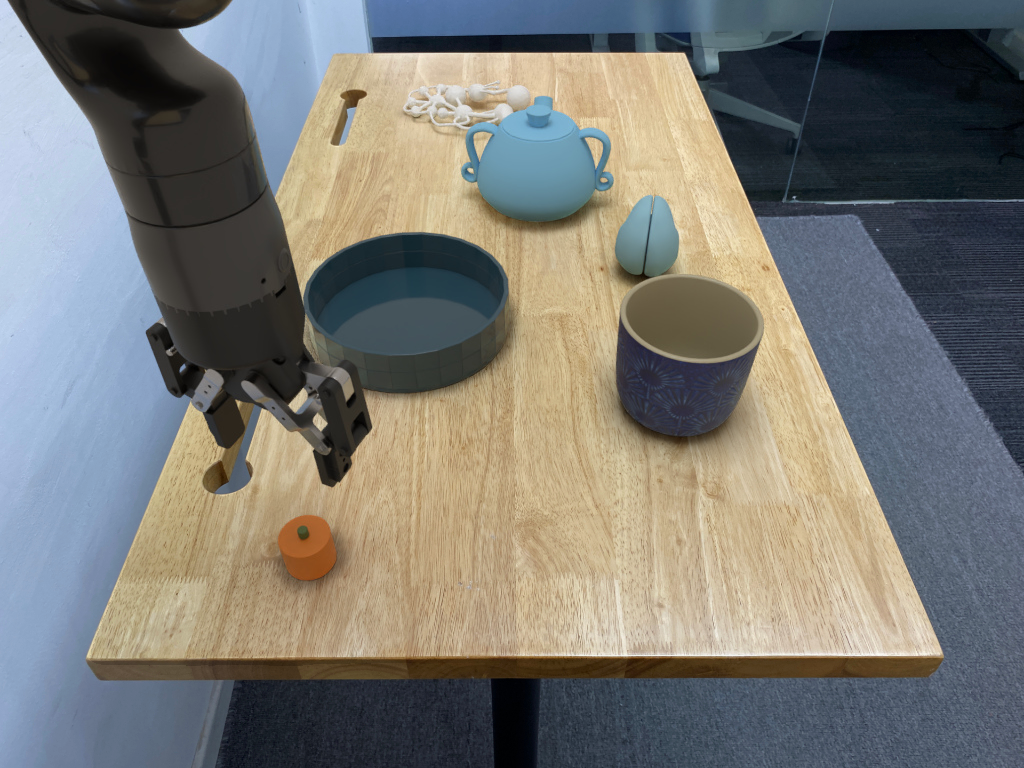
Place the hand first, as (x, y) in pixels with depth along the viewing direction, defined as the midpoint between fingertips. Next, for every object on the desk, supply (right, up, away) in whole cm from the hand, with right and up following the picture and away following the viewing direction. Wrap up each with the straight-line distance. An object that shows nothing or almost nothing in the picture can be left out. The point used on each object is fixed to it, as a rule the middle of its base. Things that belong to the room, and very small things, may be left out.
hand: (283, 457), depth 53 cm
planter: (+31, +3, +21) cm, 38 cm away
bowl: (+5, +11, +30) cm, 32 cm away
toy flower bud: (+32, +20, +39) cm, 54 cm away
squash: (0, -9, +8) cm, 12 cm away
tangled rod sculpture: (+9, +46, +67) cm, 82 cm away
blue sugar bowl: (+19, +31, +50) cm, 62 cm away
